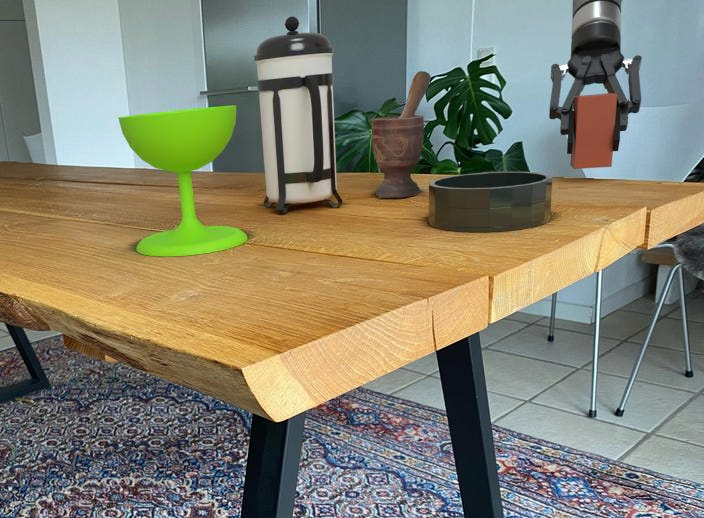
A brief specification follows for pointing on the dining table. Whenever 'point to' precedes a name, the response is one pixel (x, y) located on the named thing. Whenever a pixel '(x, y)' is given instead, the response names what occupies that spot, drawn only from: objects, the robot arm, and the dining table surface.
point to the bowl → (490, 201)
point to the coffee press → (297, 118)
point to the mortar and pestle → (400, 143)
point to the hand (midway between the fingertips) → (592, 146)
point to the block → (593, 130)
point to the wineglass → (183, 171)
